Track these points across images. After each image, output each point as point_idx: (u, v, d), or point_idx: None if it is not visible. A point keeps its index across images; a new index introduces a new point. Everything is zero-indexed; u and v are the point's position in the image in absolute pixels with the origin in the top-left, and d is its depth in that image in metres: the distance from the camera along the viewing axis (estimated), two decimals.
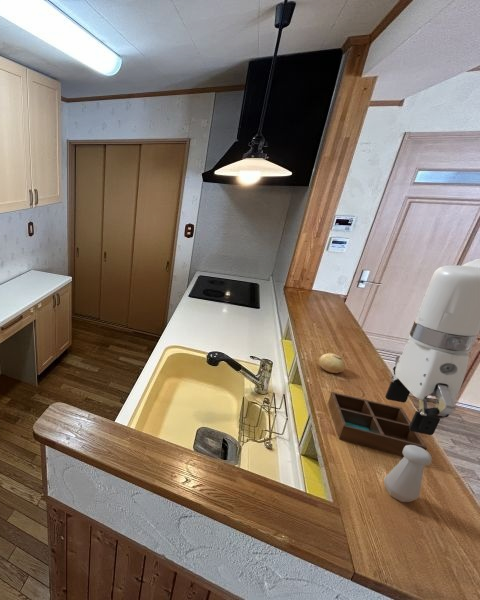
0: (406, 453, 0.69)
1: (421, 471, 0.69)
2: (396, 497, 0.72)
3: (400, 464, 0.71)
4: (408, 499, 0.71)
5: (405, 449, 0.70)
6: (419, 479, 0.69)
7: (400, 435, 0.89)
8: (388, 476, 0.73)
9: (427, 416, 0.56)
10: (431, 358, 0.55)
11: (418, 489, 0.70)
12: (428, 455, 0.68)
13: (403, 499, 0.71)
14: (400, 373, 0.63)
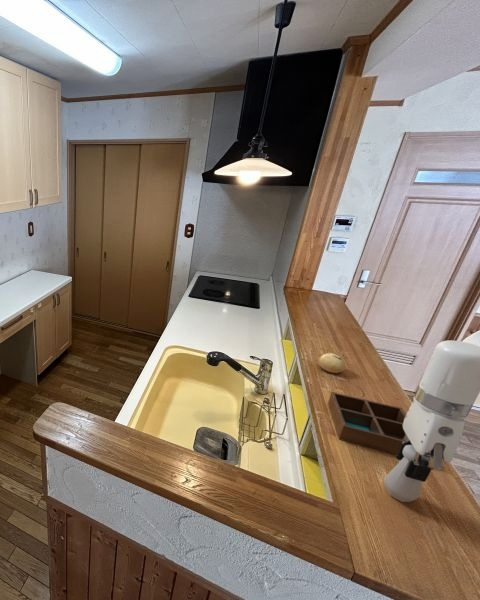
0: (406, 453, 0.69)
1: None
2: (396, 497, 0.72)
3: (400, 464, 0.71)
4: (408, 499, 0.71)
5: (405, 449, 0.70)
6: None
7: (400, 435, 0.89)
8: (388, 476, 0.73)
9: (419, 466, 0.67)
10: (431, 420, 0.63)
11: (418, 489, 0.70)
12: None
13: (403, 499, 0.71)
14: (406, 428, 0.71)
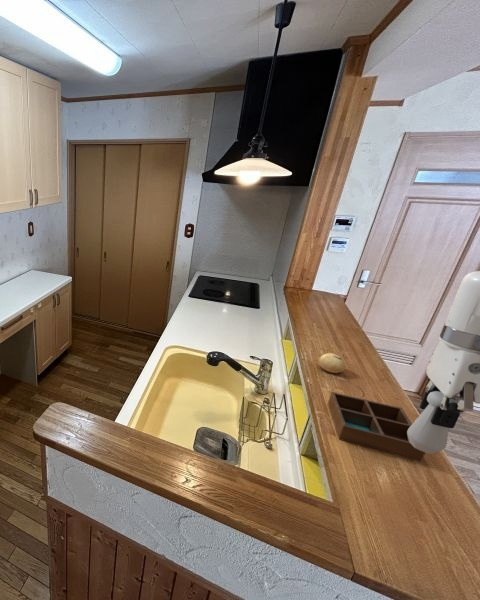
0: (432, 400, 0.65)
1: None
2: (421, 448, 0.67)
3: (425, 412, 0.67)
4: (434, 449, 0.66)
5: (430, 396, 0.65)
6: None
7: (400, 435, 0.89)
8: (411, 427, 0.69)
9: (447, 410, 0.62)
10: (460, 358, 0.59)
11: (445, 438, 0.65)
12: (456, 400, 0.63)
13: (429, 450, 0.66)
14: (431, 373, 0.66)
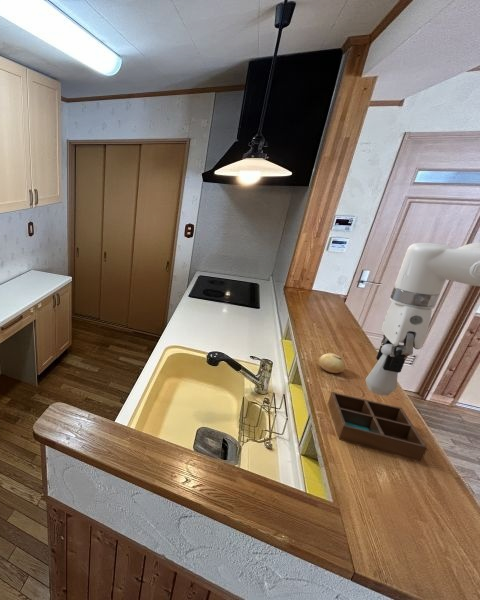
0: (384, 350, 0.79)
1: None
2: (376, 392, 0.82)
3: (379, 361, 0.81)
4: (386, 391, 0.80)
5: (383, 347, 0.80)
6: (395, 372, 0.79)
7: (400, 435, 0.89)
8: (369, 375, 0.83)
9: (395, 357, 0.76)
10: (404, 312, 0.73)
11: (394, 381, 0.80)
12: None
13: (382, 392, 0.81)
14: (384, 329, 0.80)
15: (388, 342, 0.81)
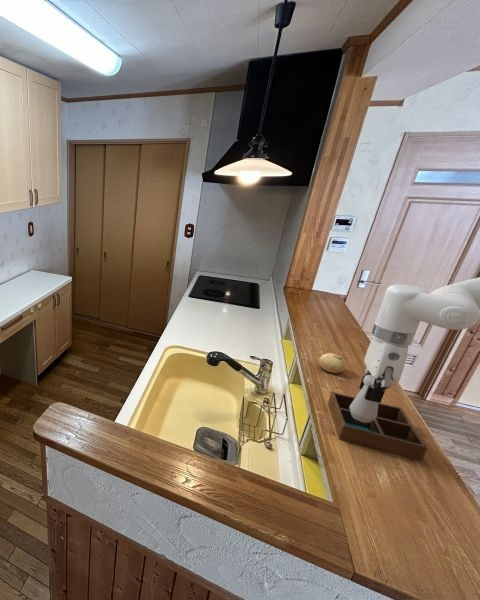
0: (366, 381, 0.85)
1: None
2: (358, 419, 0.88)
3: (362, 391, 0.87)
4: (367, 419, 0.86)
5: (365, 378, 0.86)
6: None
7: (400, 435, 0.89)
8: (352, 403, 0.89)
9: (375, 388, 0.82)
10: (383, 349, 0.79)
11: (375, 410, 0.85)
12: None
13: (364, 419, 0.87)
14: (366, 361, 0.86)
15: (370, 373, 0.87)
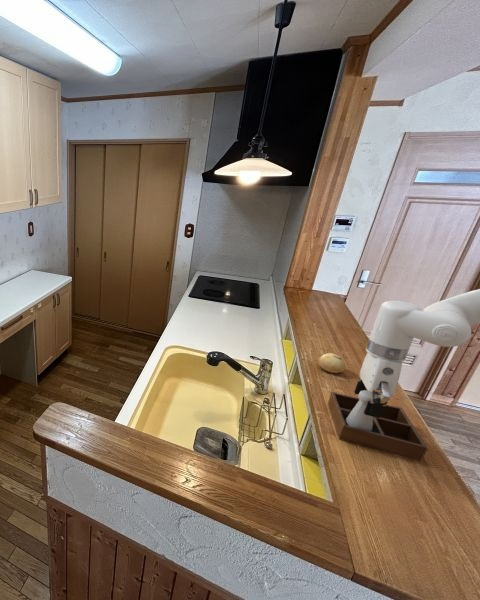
0: (361, 396, 0.87)
1: None
2: None
3: (357, 405, 0.88)
4: None
5: (360, 393, 0.87)
6: (370, 417, 0.86)
7: (400, 435, 0.89)
8: (348, 417, 0.91)
9: (374, 404, 0.81)
10: (377, 364, 0.80)
11: (370, 425, 0.87)
12: (377, 396, 0.85)
13: None
14: (362, 374, 0.88)
15: None
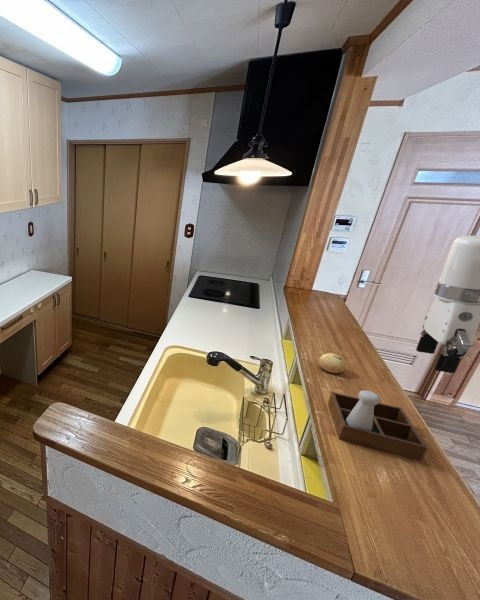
0: (361, 396, 0.87)
1: (372, 410, 0.86)
2: None
3: (357, 405, 0.88)
4: None
5: (360, 393, 0.87)
6: (370, 417, 0.86)
7: (400, 435, 0.89)
8: (348, 417, 0.91)
9: (449, 356, 0.71)
10: (451, 309, 0.70)
11: (370, 425, 0.87)
12: (377, 396, 0.85)
13: None
14: (428, 327, 0.77)
15: None
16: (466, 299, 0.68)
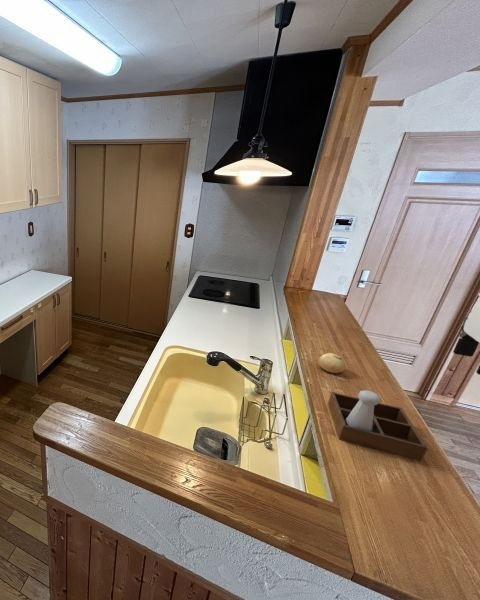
0: (361, 396, 0.87)
1: (372, 410, 0.86)
2: None
3: (357, 405, 0.88)
4: None
5: (360, 393, 0.87)
6: (370, 417, 0.86)
7: (400, 435, 0.89)
8: (348, 417, 0.91)
9: None
10: None
11: (370, 425, 0.87)
12: (377, 396, 0.85)
13: None
14: (469, 328, 0.73)
15: (468, 334, 0.75)
16: None
